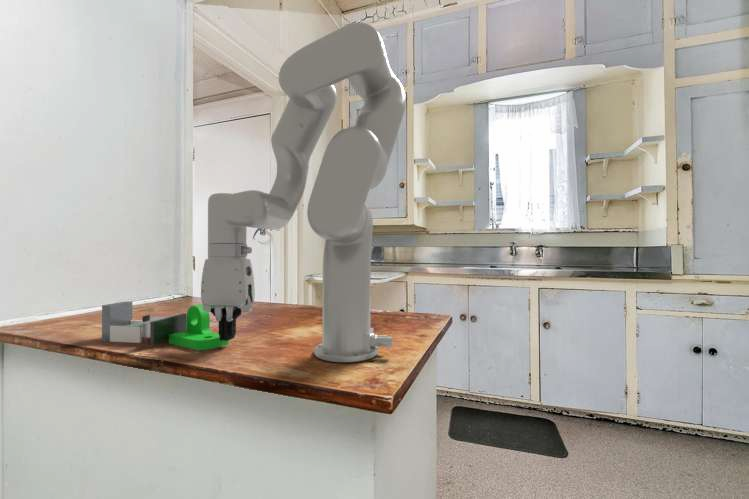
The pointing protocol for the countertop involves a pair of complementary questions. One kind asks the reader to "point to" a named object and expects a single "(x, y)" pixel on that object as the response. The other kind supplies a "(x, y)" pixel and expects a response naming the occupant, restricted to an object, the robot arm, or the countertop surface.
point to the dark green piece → (162, 327)
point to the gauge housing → (120, 324)
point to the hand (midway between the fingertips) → (227, 338)
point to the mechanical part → (197, 332)
